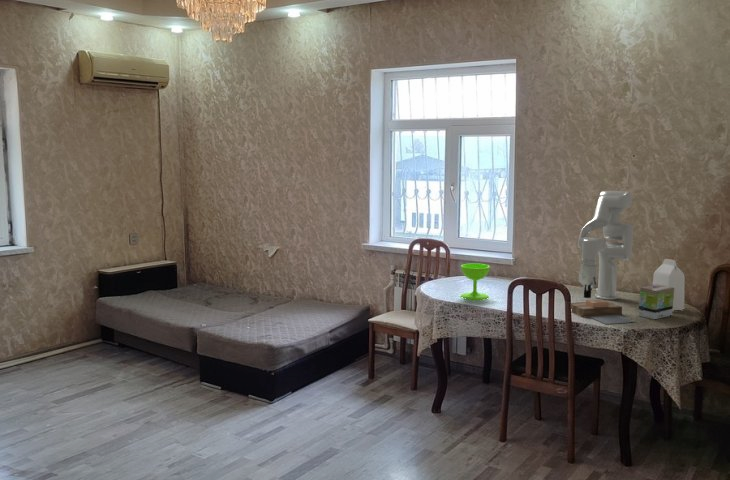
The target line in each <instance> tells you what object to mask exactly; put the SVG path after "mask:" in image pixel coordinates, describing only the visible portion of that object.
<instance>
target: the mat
mask: <svg viewBox="0 0 730 480" xmlns="http://www.w3.org/2000/svg"><path fill="white" fill-rule="evenodd" d="M589 318H590V319H593V320H595V321H597V322H599V323H601V324H604V325H607V326H608V325H618V324H619V323H621V324H631V323H630V322H635V323H636V321H635V320H632V319H630V318H626V317H625V316H622V315H605V316H590V317H589Z"/></svg>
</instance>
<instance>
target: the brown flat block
mask: <svg viewBox="0 0 730 480" xmlns="http://www.w3.org/2000/svg"><path fill="white" fill-rule="evenodd" d="M608 302H609V307H596V308H592V307H590V306H587V305H586V301H581V302H580V301H579V302H578V301H577V302H570V303H571V309H572V312H571V313H573V314H575V315H577V316H579V317H582V318H590V316H605V315H620V316H622V314H623V306H621V305H619V304H615V303H613V302H611V301H608Z"/></svg>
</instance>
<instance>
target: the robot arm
mask: <svg viewBox="0 0 730 480" xmlns="http://www.w3.org/2000/svg"><path fill="white" fill-rule="evenodd" d="M633 197H634V196H633V194H632V192H630V191H626V190H624V191H623V190H603V191H601V192H600V194H599V198H598V200H597V203H596V207H595V209H594V213H593V218H592V219H591V220H589V221H588V222H587V223H586V224H585V225H584V226H583V227H582V228H581V230H580V233H579V235H578V239H577V247H578V249H579V250H580V251H581V264H580V267H579V274H578V282H579V284H581V285H582V286H583V298H585V299H591V298H592V291H593V289H595V291H596V293H594V297H595V298H596V299H603V300H606V301H608V300H610V301H611V300H613V301H614V300H618V299H619V295H618V294H617V293H616V292H617V279H618V277H617V275H618V266H617V264H616V262H615V261H614V260H617V261H628V260H630V259H631V257H632V253H633V243H634V233H635V232H634V230H635V229H634V227H633V225H632V224H630V223H626V222H625V223H624V222H621V218H622V214H621V213H622V212H625V211H626V210H627V209H629V207H631V205H632V203H633ZM601 228H603V229H602V235H603V237H595V236H588V235H589V234H590V233H591V232H593V231H596V230H599V229H601ZM604 238H605V239H604ZM606 240H612V241H606ZM613 240H614V241H613ZM616 241H622V242H616ZM597 264H599V265H597ZM597 266H598V270H597ZM597 280H598V281H597ZM597 284H598V285H597ZM596 285H597V288H596Z"/></svg>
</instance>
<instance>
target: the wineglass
mask: <svg viewBox="0 0 730 480" xmlns="http://www.w3.org/2000/svg"><path fill="white" fill-rule="evenodd" d="M460 268H461V271H462V274H463V275H464V277H465V278H467V279H469V280H471V281H472V280H473V281H472V283H473V285H472V286H473V288H472V292H465V293H462V294H461V295H460V298H461V297H463V298H466V299H471V300H470V301H473V300H481V301H483V300H482V299H487V298H489V299H490V297H489V295H488V294H485V293H481V292H478V289H477V287H478V285H477V283H478V281H479V280H482V279H484V278H485V277H486V276H487V275H488V274H489V271H490V268H491V266H490V265H489V264H485V263H464V264H461V265H460ZM487 300H488V299H487Z"/></svg>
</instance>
